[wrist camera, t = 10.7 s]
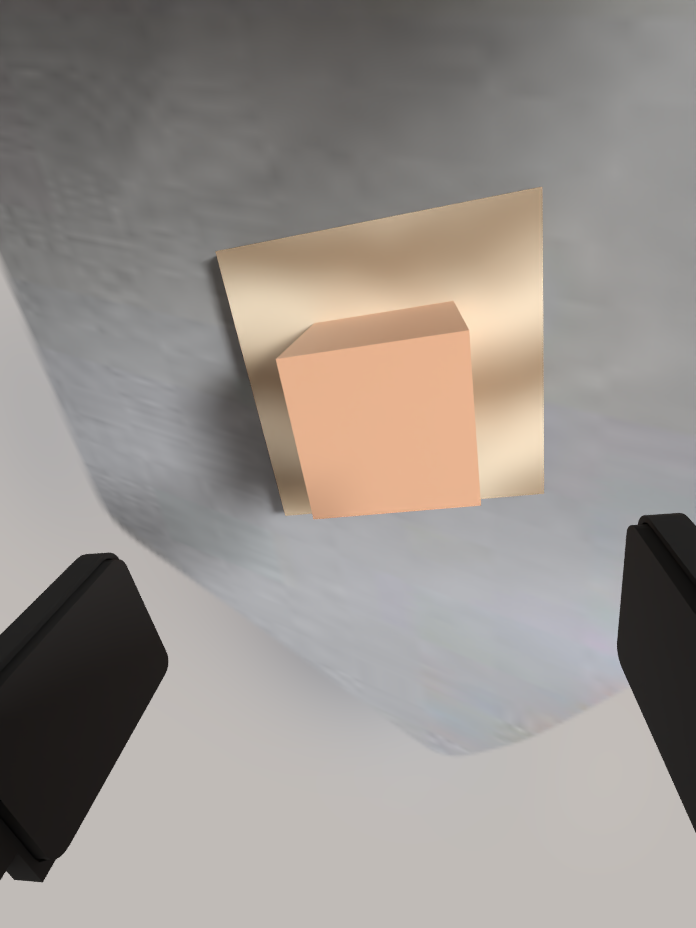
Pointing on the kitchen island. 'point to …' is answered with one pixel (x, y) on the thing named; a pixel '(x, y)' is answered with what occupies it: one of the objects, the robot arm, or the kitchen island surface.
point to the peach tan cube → (384, 412)
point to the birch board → (398, 287)
